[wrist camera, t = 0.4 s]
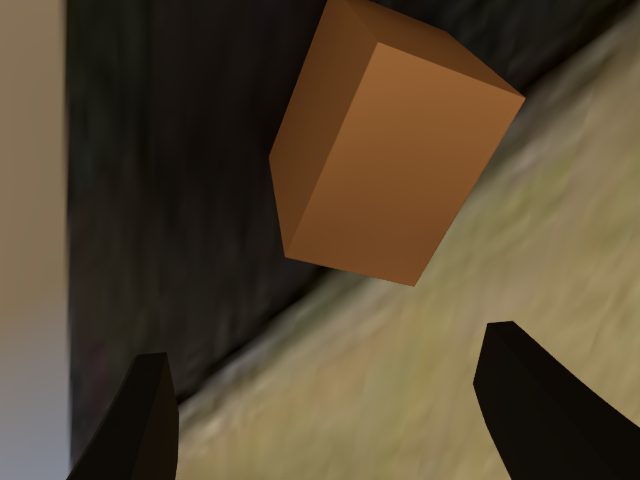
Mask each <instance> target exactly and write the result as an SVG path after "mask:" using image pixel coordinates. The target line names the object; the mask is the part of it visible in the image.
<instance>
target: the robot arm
mask: <svg viewBox="0 0 640 480" xmlns="http://www.w3.org/2000/svg"><path fill="white" fill-rule="evenodd" d="M473 386H474V389H475V392H476V396H477V399H478V402H479V405H480V408H481V411H482V414H483V417H484V420H485V423H486V426H487V428H488V430H489V432H490V435H491V437H492V439H493V441H494V443H495V446H496V448H497V450H498V452H499V454H500V456H501V459H502V461H503V463H504V465H505V467H506V469H507V471H508V473H509V475H510V478H511V480H640V427H638V426H637V425H635V424H634V423H633V422H631V421H630V420H629V419H628V418H626V417H625V416H624V415H622V414H621V413H620V412H618V411H617V410H616V409H615V408H613V407H612V406H611V405H609V404H608V403H607V402H606V401H604V400H603V399H602V398H601V397H599V396H598V395H597V394H596V393H594V392H593V391H592V390H591V389H590V388H588V387H587V386H586V385H585V384H584V383H582V382H581V381H580V380H579V379H578V378H577V377H575V376H574V375H573V374H572V373H571V372H570V371H569V370H567V369H566V368H565V367H564V366H563V365H562V364H561V363H559V362H558V361H557V360H556V359H555V358H554V357H553V356H552V355H550V354H549V353H548V352H547V351H546V350H545V349H544V348H543V347H541V346H540V345H539V344H538V343H537V342H536V341H535V340H534V339H533V338H532V337H530V336H529V335H528V334H527V333H526V332H525V331H524V330H523V329H522V328H520V327H519V326H518V325H517V324H516V323H515V322H513V321H506V322H495V323H487V327H486V331H485V335H484V340H483V344H482V348H481V352H480V356H479V360H478V365H477V369H476V373H475V377H474V381H473ZM178 438H179V411H178V407H177V402H176V397H175V392H174V387H173V382H172V377H171V372H170V367H169V362H168V357H167V352H164V353H153V354H142V355H137V356H136V357H135V358H134V359H133V360H132V363H131V365H130V367H129V370H128V372H127V374H126V376H125V378H124V380H123V382H122V384H121V387H120V389H119V390H118V392H117V394H116V396H115V398H114V400H113V402H112V404H111V406H110V408H109V410H108V411H107V413H106V415H105V417H104V419H103V420H102V422H101V424H100V426H99V427H98V429H97V431H96V433H95V434H94V436H93V438H92V440H91V441H90V443H89V445H88V446H87V448H86V449H85V451H84V453H83V454H82V456H81V457H80V459H79V460H78V462H77V463H76V465H75V467H74V468H73V470H72V471H71V473H70V474H69V476H68V477H67V479H66V480H175V477H176V470H177V462H178Z"/></svg>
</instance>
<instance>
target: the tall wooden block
mask: <svg viewBox="0 0 640 480" xmlns="http://www.w3.org/2000/svg"><path fill="white" fill-rule="evenodd" d="M525 99H526V98H525V97H524V96H522V95H521V94H520V93H519V92H518V91H516V90H515V89H514V88H513V87H512V86H510V85H509V84H508V83H507V82H506V81H504V80H503V79H502V78H501V77H500V76H498V75H497V74H496V73H495V72H494V71H493V70H491V69H490V68H489V67H488V66H487V65H485V64H484V63H483V62H482V61H481V60H479V59H478V58H477V57H476V56H475V55H473V54H472V53H471V52H470V51H469V50H467V49H466V48H465V47H464V46H463V45H461V44H460V43H459V42H458V41H457V40H455V39H454V38H453V37H452V36H451V35H449V34H448V33H447V32H446V31H444V30H441V29H439V28H436V27H434V26H431V25H429V24H426V23H424V22H421V21H419V20H416V19H414V18H411V17H409V16H407V15H404V14H402V13H399V12H397V11H394V10H392V9H389V8H387V7H384V6H382V5H379V4H377V3H374V2H372V1H370V0H327V3H326V6H325V8H324V11H323V14H322V16H321V19H320V22H319V24H318V27H317V30H316V32H315V35H314V38H313V40H312V43H311V46H310V48H309V51H308V54H307V56H306V59H305V62H304V64H303V67H302V70H301V72H300V75H299V78H298V80H297V83H296V86H295V88H294V91H293V94H292V96H291V99H290V102H289V104H288V107H287V110H286V112H285V115H284V118H283V120H282V123H281V126H280V128H279V131H278V134H277V136H276V139H275V142H274V144H273V147H272V150H271V152H270V155H269V162H270V168H271V174H272V180H273V187H274V193H275V199H276V205H277V211H278V217H279V223H280V229H281V235H282V241H283V247H284V253H285V257H288V258H292V259H296V260H301V261H305V262H309V263H314V264H318V265H322V266H326V267H331V268H335V269H339V270H344V271H348V272H352V273H357V274H361V275H365V276H370V277H374V278H378V279H383V280H387V281H391V282H396V283H400V284H404V285H409V286H413V287H414V286H415V285H416V283H417V281H418V280H419V278H420V276H421V275H422V273H423V271H424V269H425V268H426V266H427V264H428V263H429V261H430V259H431V258H432V256H433V254H434V253H435V251H436V249H437V247H438V246H439V244H440V242H441V241H442V239H443V237H444V236H445V234H446V232H447V231H448V229H449V227H450V225H451V224H452V222H453V220H454V219H455V217H456V215H457V214H458V212H459V210H460V209H461V207H462V205H463V204H464V202H465V200H466V198H467V197H468V195H469V193H470V192H471V190H472V188H473V187H474V185H475V183H476V182H477V180H478V178H479V176H480V175H481V173H482V171H483V170H484V168H485V166H486V165H487V163H488V161H489V160H490V158H491V156H492V155H493V153H494V151H495V149H496V148H497V146H498V144H499V143H500V141H501V139H502V138H503V136H504V134H505V133H506V131H507V129H508V127H509V126H510V124H511V122H512V121H513V119H514V117H515V116H516V114H517V112H518V111H519V109H520V107H521V106H522V104H523V102H524V100H525Z"/></svg>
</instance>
